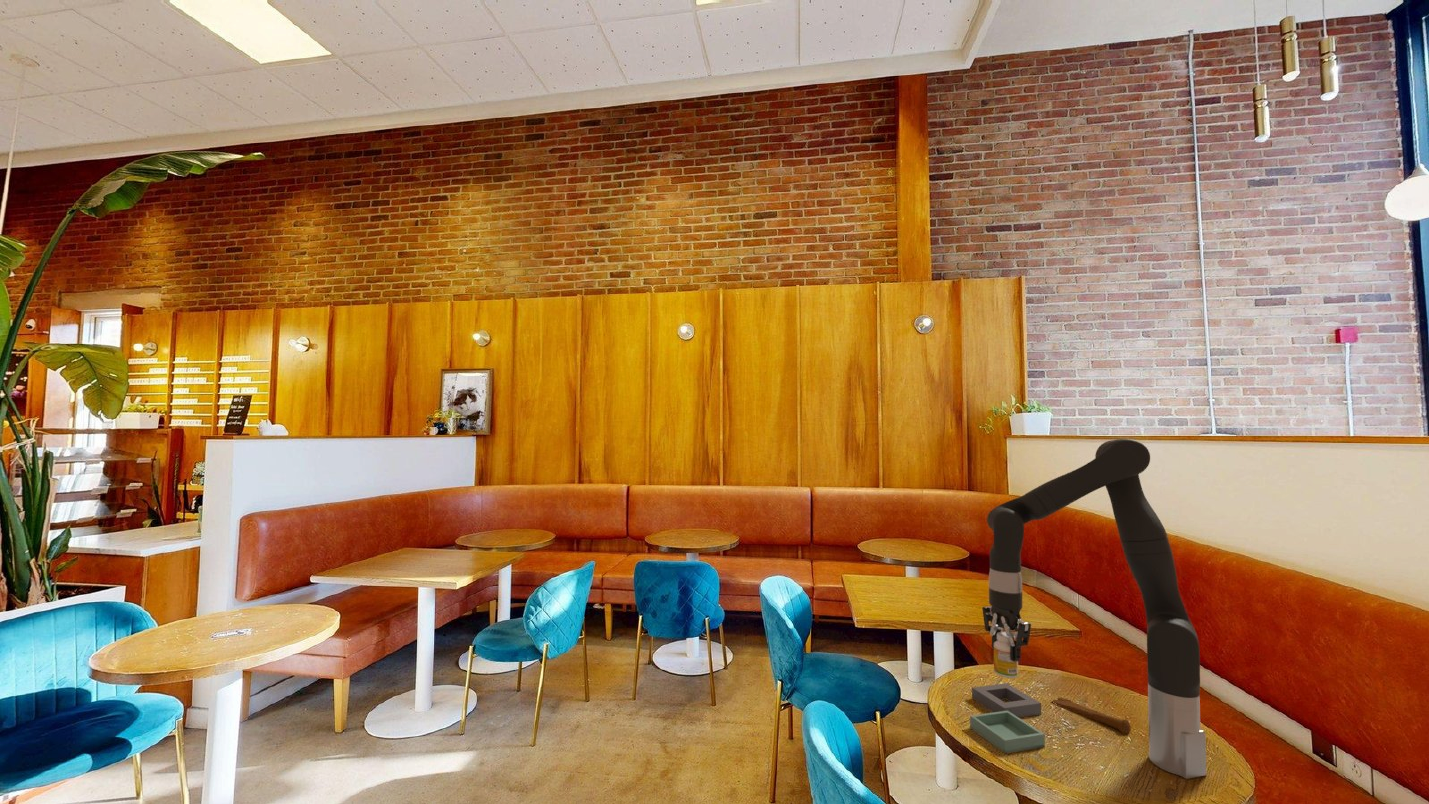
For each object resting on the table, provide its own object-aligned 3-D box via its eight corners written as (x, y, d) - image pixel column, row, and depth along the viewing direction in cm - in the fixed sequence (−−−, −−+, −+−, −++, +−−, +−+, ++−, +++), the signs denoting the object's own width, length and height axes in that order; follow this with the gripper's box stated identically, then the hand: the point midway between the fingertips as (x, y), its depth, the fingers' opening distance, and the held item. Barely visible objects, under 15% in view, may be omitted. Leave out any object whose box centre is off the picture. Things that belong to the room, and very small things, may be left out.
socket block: (1041, 714, 149) (1041, 703, 149) (1004, 719, 146) (1004, 708, 146) (1006, 693, 161) (1006, 683, 161) (971, 698, 158) (971, 687, 158)
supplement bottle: (996, 667, 143) (996, 629, 144) (1020, 673, 140) (1020, 634, 140) (991, 674, 139) (991, 634, 140) (1015, 680, 136) (1015, 640, 136)
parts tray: (1044, 747, 134) (1044, 734, 134) (1005, 753, 131) (1005, 740, 131) (1007, 722, 145) (1007, 710, 145) (970, 727, 142) (970, 715, 142)
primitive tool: (1048, 703, 157) (1048, 690, 157) (1060, 699, 159) (1060, 686, 159) (1125, 737, 140) (1124, 723, 140) (1136, 732, 142) (1136, 718, 142)
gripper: (1040, 595, 134) (1041, 666, 134) (996, 579, 148) (997, 644, 147) (1015, 596, 133) (1015, 669, 132) (972, 580, 146) (973, 646, 146)
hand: (1005, 655), depth 140 cm, fingers closed on supplement bottle, 5 cm apart
